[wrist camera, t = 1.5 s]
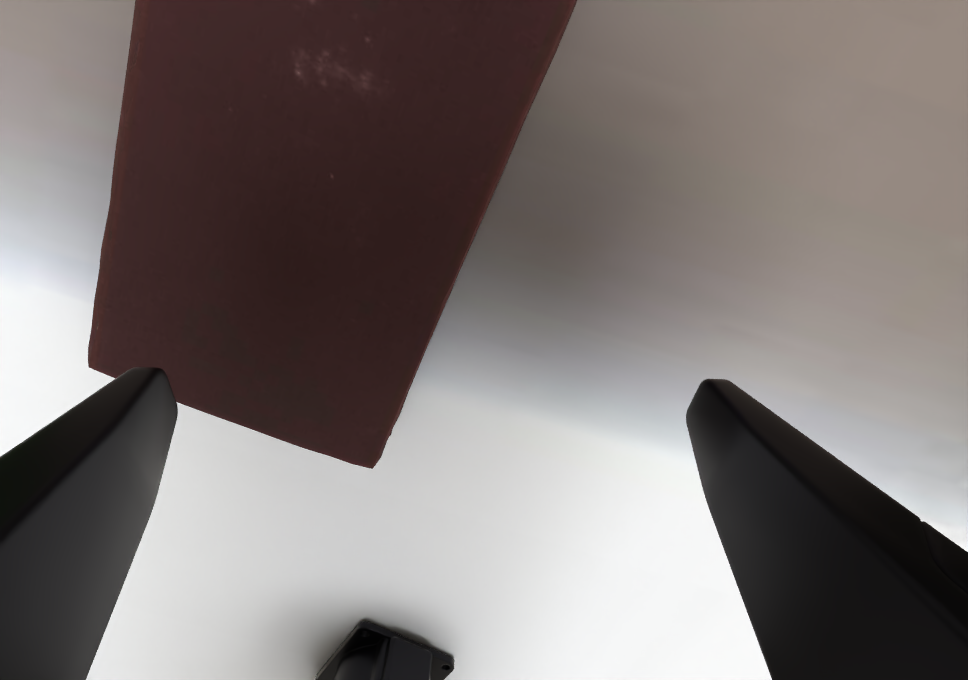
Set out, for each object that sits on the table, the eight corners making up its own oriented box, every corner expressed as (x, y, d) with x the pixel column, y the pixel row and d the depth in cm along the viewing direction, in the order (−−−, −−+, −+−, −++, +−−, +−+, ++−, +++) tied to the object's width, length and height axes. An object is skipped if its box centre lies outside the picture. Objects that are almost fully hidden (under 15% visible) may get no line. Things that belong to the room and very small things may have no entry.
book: (121, 336, 24) (71, 371, 21) (207, -197, 16) (146, -258, 13) (390, 430, 26) (378, 474, 23) (577, -3, 18) (595, -19, 16)
